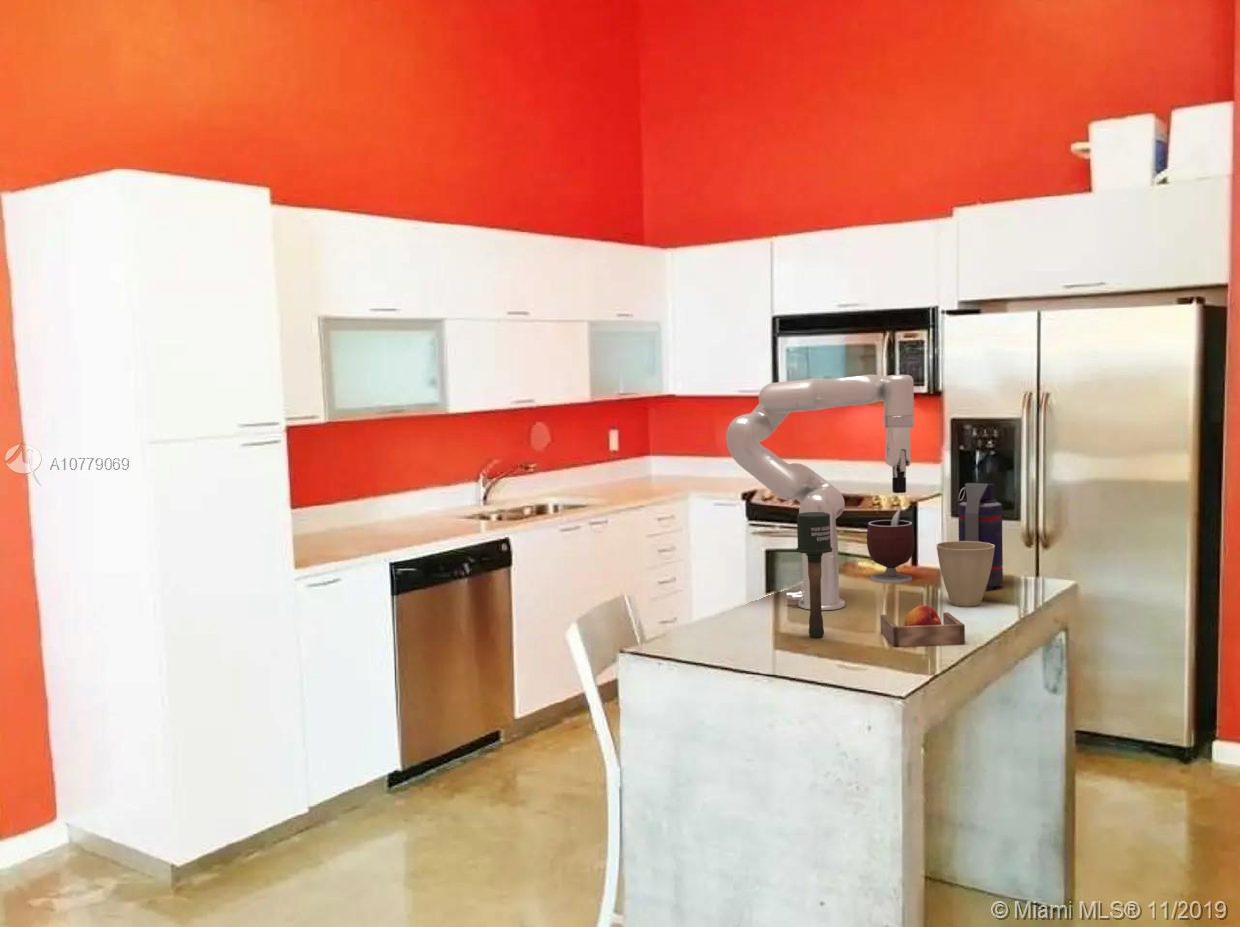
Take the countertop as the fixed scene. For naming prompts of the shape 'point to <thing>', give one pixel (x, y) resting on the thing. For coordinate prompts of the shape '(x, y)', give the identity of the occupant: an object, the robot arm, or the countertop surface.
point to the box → (924, 633)
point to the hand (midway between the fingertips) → (899, 492)
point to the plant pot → (965, 570)
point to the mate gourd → (890, 547)
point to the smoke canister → (983, 524)
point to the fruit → (922, 617)
